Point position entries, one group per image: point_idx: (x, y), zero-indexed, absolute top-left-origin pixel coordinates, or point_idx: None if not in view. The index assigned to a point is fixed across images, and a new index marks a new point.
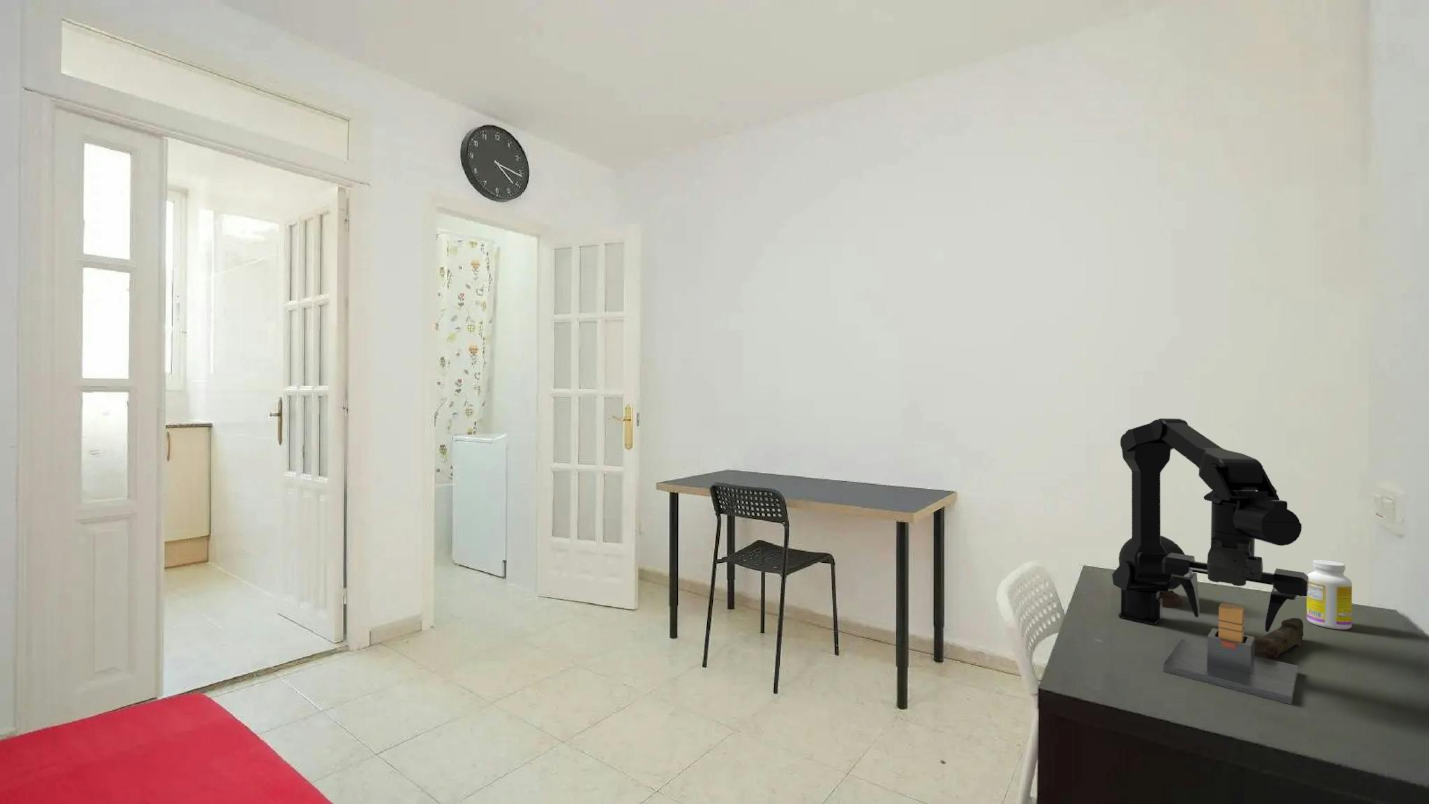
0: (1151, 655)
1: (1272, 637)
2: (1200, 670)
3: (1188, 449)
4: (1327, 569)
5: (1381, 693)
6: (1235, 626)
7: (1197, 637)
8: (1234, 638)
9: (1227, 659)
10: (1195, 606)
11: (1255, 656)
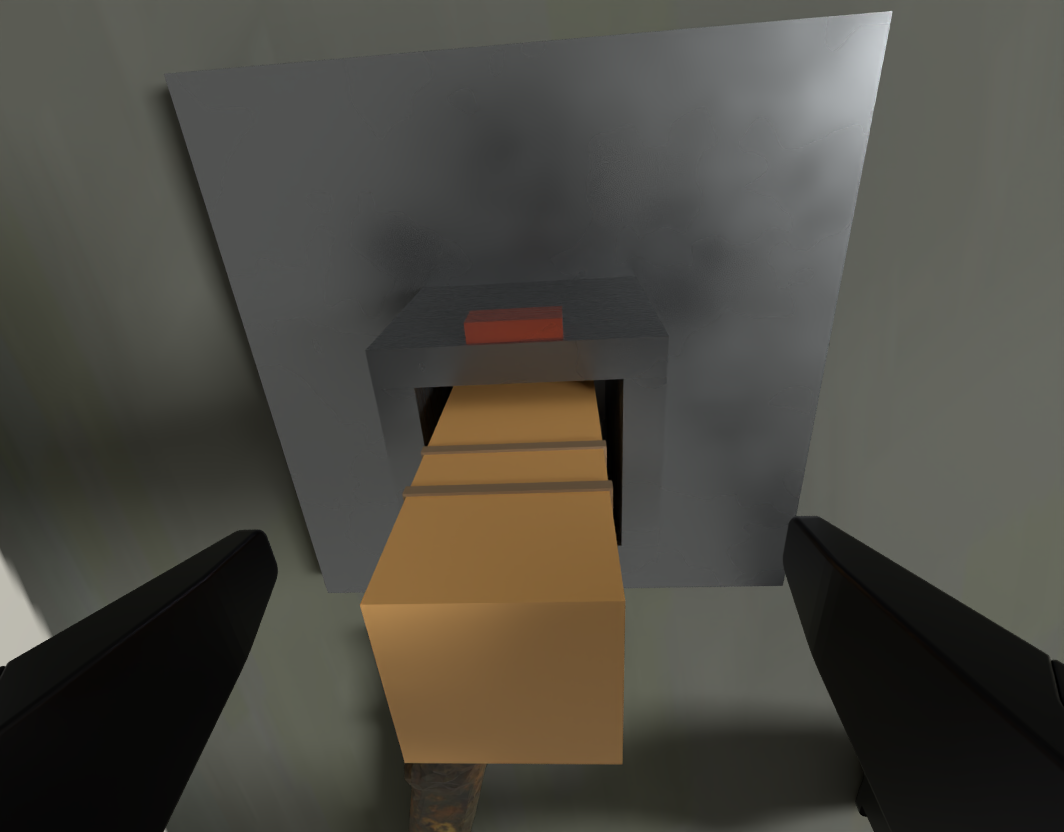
0: (921, 300)
1: None
2: (656, 115)
3: None
4: None
5: (97, 565)
6: (464, 471)
7: (713, 696)
8: (487, 413)
9: (528, 296)
10: (880, 581)
11: None
